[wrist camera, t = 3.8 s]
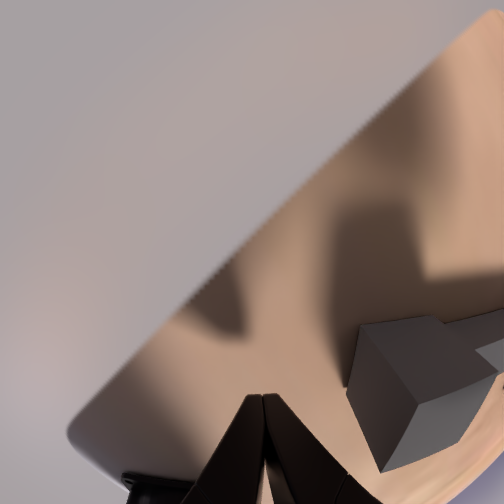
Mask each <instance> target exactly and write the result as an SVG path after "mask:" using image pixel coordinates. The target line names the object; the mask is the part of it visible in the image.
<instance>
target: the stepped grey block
mask: <svg viewBox="0 0 504 504" xmlns="http://www.w3.org/2000/svg"><path fill="white" fill-rule="evenodd" d="M503 372H504V309H501V310H497V311H494V312H490V313H487V314H483V315H479V316H475V317H472V318H467V319H463V320H459V321H455V322H450V323H446V324H443V323H442V322H441V321H440V320H438V319H437V318H436V317H435V316H433V315H428V316H422V317H415V318H409V319H402V320H396V321H388V322H381V323H373V324H364V325H360V330H359V335H358V341H357V346H356V351H355V356H354V361H353V366H352V370H351V375H350V379H349V383H348V387H347V391H346V396H347V398H348V400H349V402H350V405H351V407H352V409H353V411H354V414H355V416H356V418H357V420H358V423H359V425H360V427H361V430H362V432H363V434H364V436H365V439H366V441H367V443H368V446H369V448H370V450H371V453H372V455H373V457H374V460H375V462H376V464H377V467H378V469H379V472H380V474H381V473H384V472H387V471H390V470H393V469H396V468H399V467H402V466H405V465H407V464H410V463H413V462H415V461H418V460H420V459H423V458H425V457H428V456H430V455H432V454H435V453H437V452H439V451H441V450H443V449H446V448H448V447H450V446H452V445H454V444H456V443H458V441H459V440H460V439H461V437H462V436H463V434H464V433H465V431H466V430H467V428H468V427H469V425H470V423H471V422H472V420H473V419H474V417H475V415H476V414H477V412H478V410H479V409H480V407H481V405H482V403H483V402H484V400H485V398H486V396H487V394H488V392H489V390H490V388H491V387H492V385H493V383H494V381H495V378H496V376H497V375H499V374H501V373H503Z"/></svg>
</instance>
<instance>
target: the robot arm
mask: <svg viewBox="0 0 504 504" xmlns="http://www.w3.org/2000/svg"><path fill="white" fill-rule="evenodd" d="M265 465H266V470H267V475H268V480H269V484H270V488H271V493H272V497H273V501H274V504H383V503H382V502H380V501H379V500H378V499H376V498H375V497H374V496H372V495H371V494H370V493H369V492H368V491H367V490H366V489H365V488H363V487H362V486H361V485H360V484H359V483H358V482H357V481H356V480H355V479H354V478H353V477H352V476H351V475H350V474H348V472H347V471H346V470H345V469H344V468H343V467H342V466H341V465H340V464H339V462H338V461H337V460H336V459H335V458H334V457H333V456H332V455H331V454H330V453H329V452H328V451H327V450H326V449H325V447H324V446H323V445H322V444H321V443H320V442H319V441H318V440H317V439H316V437H315V436H314V435H313V434H312V433H311V432H310V431H309V430H308V428H307V427H306V426H305V425H304V424H303V423H302V422H301V420H300V419H299V418H298V417H297V416H296V415H295V413H294V412H293V411H292V410H291V409H290V408H289V406H288V405H287V404H286V403H285V402H284V400H283V399H282V398H281V397H280V396H279V394H277V393H271V394H263V396H262V395H261V394H249V395H247V396H246V397H245V399H244V400H243V402H242V404H241V406H240V408H239V410H238V411H237V413H236V415H235V417H234V418H233V420H232V422H231V424H230V426H229V427H228V429H227V431H226V432H225V434H224V436H223V438H222V439H221V441H220V443H219V444H218V446H217V448H216V449H215V451H214V453H213V454H212V456H211V458H210V459H209V461H208V463H207V464H206V466H205V468H204V469H203V471H202V472H201V474H200V476H199V477H198V479H197V480H196V482H195V483H185V482H176V481H169V480H162V479H155V478H150V477H144V476H139V475H134V474H129V473H123V474H122V476H121V481H122V482H123V484H124V485H125V486H126V487H127V489H128V490H129V491H130V493H129V496H128V500H127V503H126V504H261V499H262V490H263V479H264V467H265ZM347 474H348V475H347Z"/></svg>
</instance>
